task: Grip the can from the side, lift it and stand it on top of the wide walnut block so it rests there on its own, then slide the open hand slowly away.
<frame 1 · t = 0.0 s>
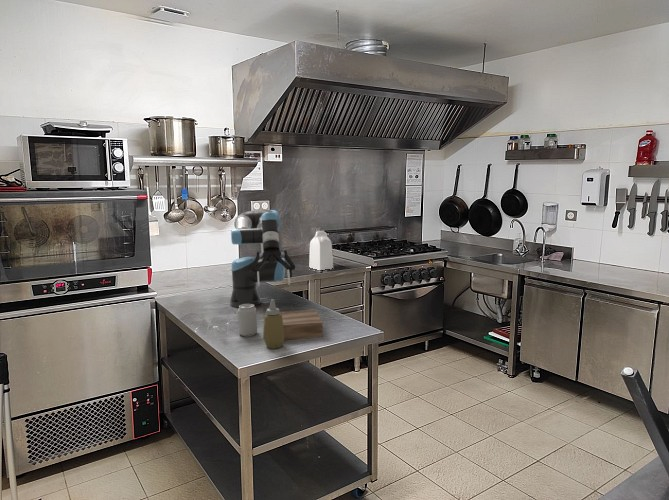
hand: (274, 285, 213), 15 cm above the worktop, tool tilted 35°, fingers open, 13 cm apart
milk: (321, 269, 326), on the worktop
squeeze bottle: (274, 346, 180), on the worktop
can: (248, 334, 195), on the worktop
walnut block: (297, 331, 196), on the worktop
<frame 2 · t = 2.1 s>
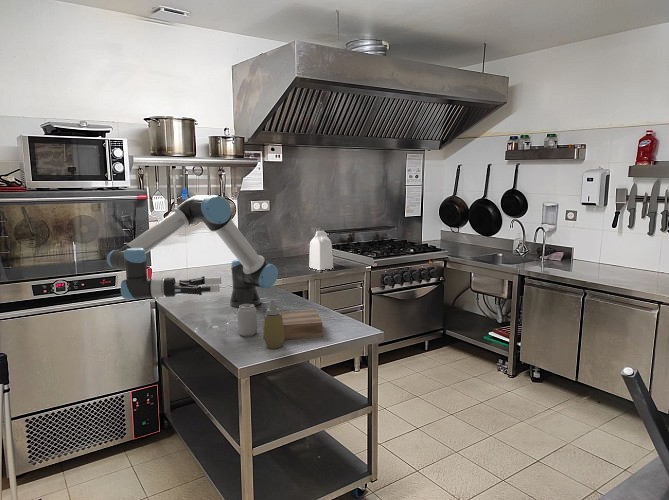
hand: (220, 284, 190), 21 cm above the worktop, tool horizontal, fingers open, 13 cm apart
nothing on the worktop moved.
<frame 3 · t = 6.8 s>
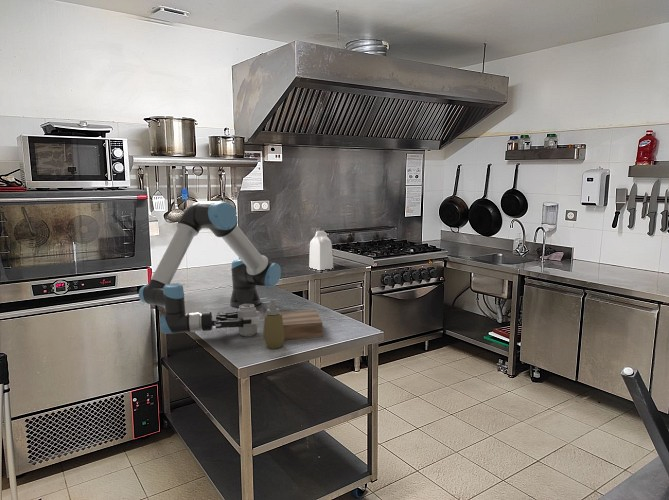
hand: (259, 317, 195), 7 cm above the worktop, tool horizontal, fingers closed on can, 7 cm apart
can: (248, 334, 195), on the worktop, touching gripper
everything else where it was.
when the fingers open (13 cm above the worktop, at t = 12.7 s): can stays where it is, resting on walnut block.
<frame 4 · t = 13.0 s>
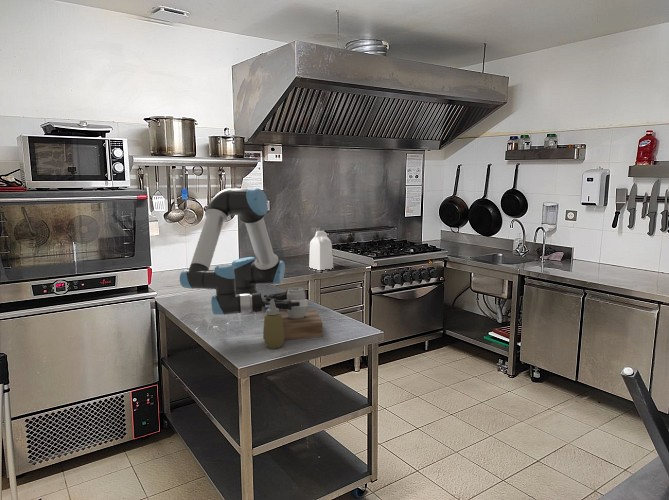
hand: (305, 299, 195), 13 cm above the worktop, tool horizontal, fingers open, 11 cm apart
can: (296, 317, 195), point 6 cm above the worktop, touching walnut block
everything else where it was.
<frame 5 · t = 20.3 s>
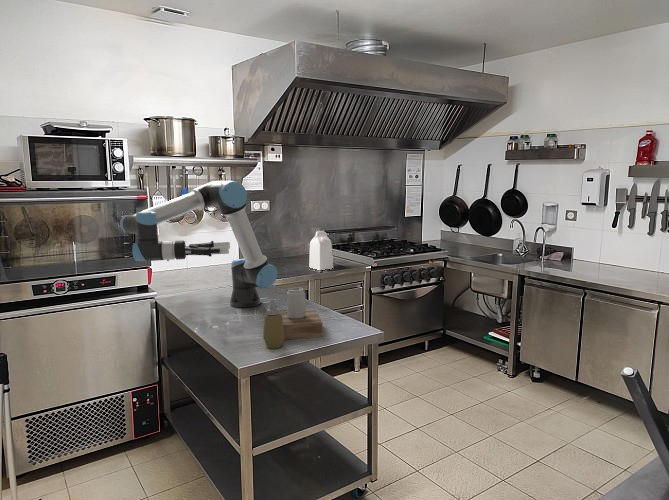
hand: (229, 247, 194), 35 cm above the worktop, tool horizontal, fingers open, 13 cm apart
nothing on the worktop moved.
at the end: can inside the target area on the walnut block (0.1 cm from its centre), point 5.8 cm above the walnut block's base; can tilted 0°; the gripper is holding nothing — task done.
